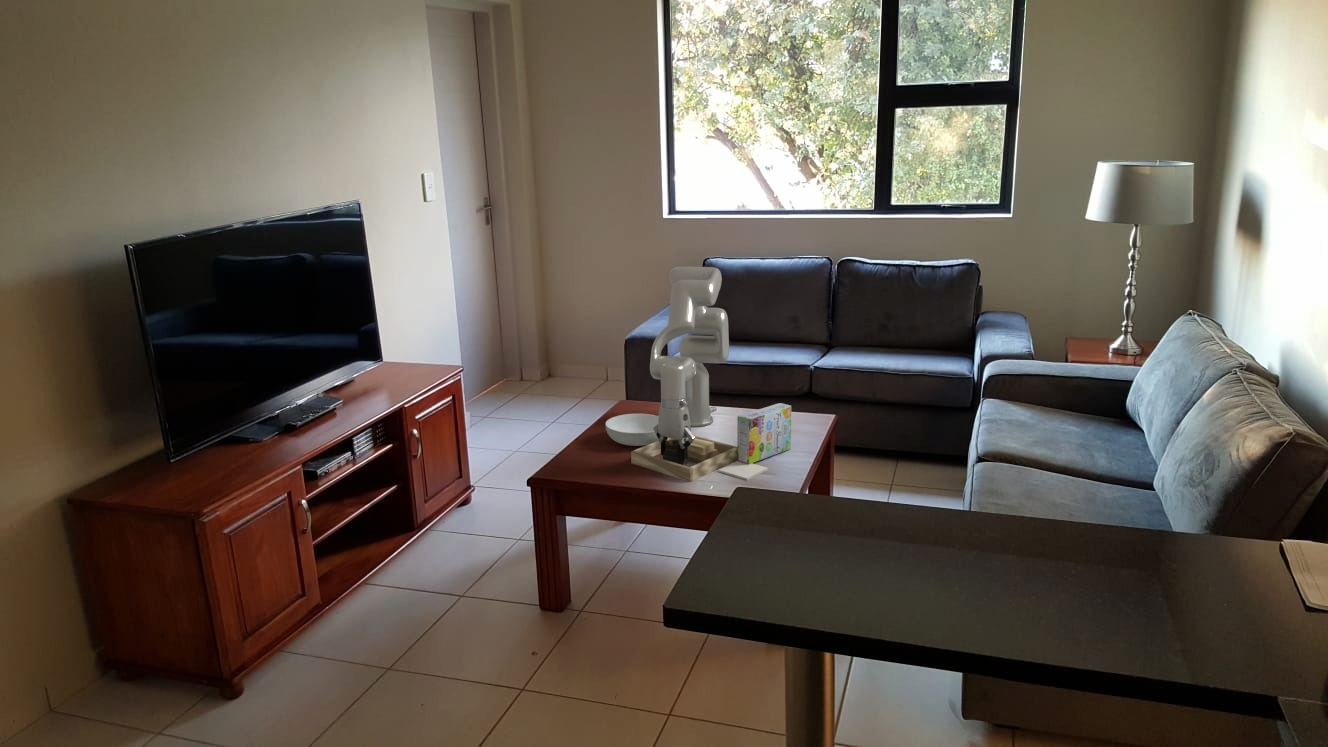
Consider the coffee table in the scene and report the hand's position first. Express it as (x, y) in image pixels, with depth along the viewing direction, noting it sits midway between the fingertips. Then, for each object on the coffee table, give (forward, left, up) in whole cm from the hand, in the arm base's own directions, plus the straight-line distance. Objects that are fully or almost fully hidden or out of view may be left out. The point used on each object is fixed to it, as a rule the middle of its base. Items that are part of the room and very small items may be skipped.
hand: (674, 456), depth 282 cm
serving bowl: (-10, -25, -4) cm, 27 cm away
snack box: (-25, +17, -3) cm, 30 cm away
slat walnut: (-11, 0, -4) cm, 11 cm away
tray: (-6, 0, -3) cm, 6 cm away
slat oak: (-11, +1, -2) cm, 11 cm away
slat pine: (-11, 0, 0) cm, 11 cm away
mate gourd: (0, 0, -4) cm, 4 cm away
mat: (-11, +19, -3) cm, 22 cm away
